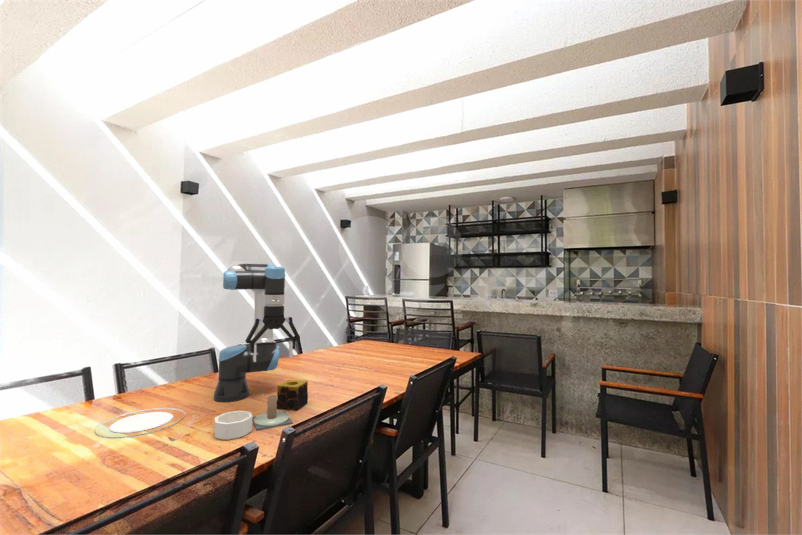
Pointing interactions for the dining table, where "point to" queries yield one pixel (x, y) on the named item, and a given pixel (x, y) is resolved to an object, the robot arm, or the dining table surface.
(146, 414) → the plate
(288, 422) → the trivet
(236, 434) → the bowl
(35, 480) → the dining table surface
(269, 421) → the lid
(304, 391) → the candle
